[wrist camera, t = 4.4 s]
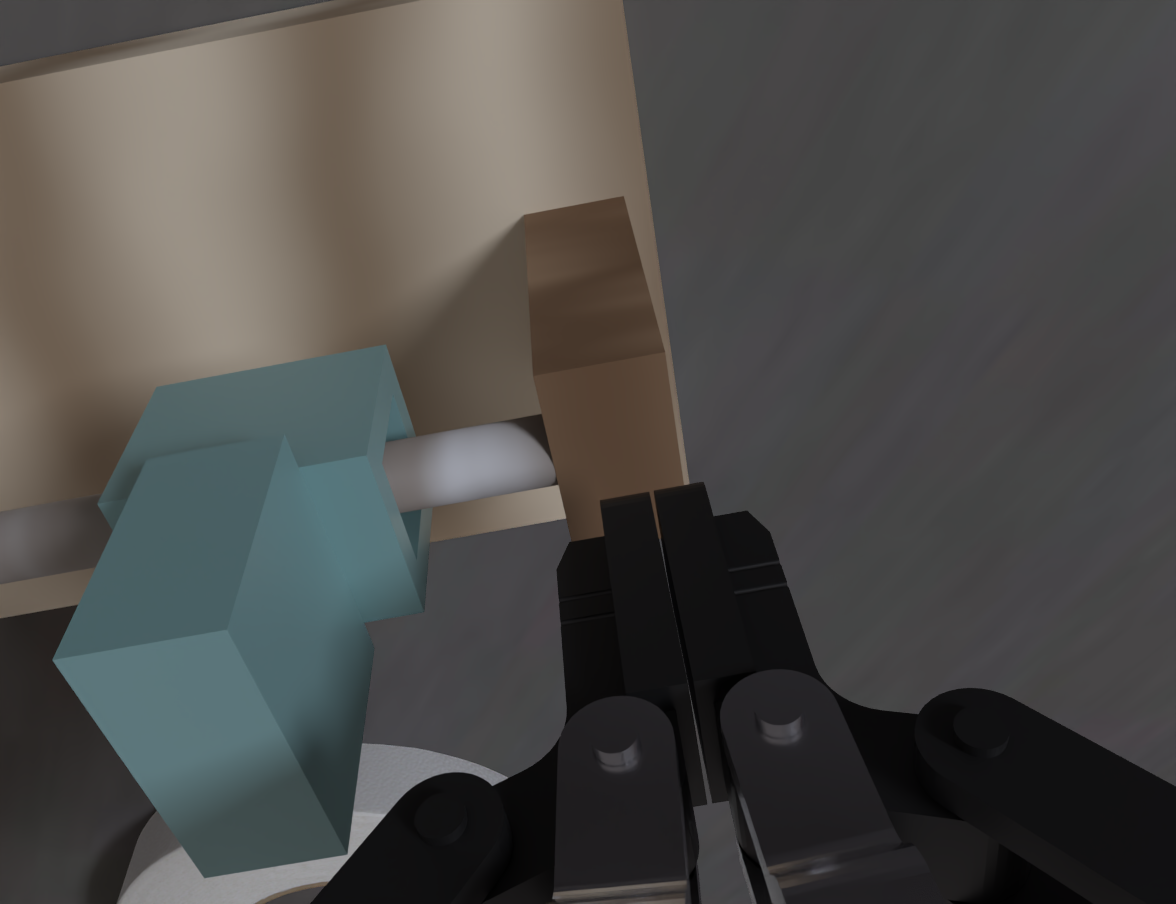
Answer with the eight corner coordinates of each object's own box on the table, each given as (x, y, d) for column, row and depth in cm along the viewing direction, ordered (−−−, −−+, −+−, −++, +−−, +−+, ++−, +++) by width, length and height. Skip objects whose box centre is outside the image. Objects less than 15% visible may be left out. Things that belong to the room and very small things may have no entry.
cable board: (609, -55, 19) (677, 85, 12) (681, 459, 26) (752, 742, 19) (-614, 187, 20) (-1237, 453, 13) (-224, 620, 27) (-483, 947, 20)
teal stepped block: (375, 313, 17) (314, 614, 11) (441, 515, 20) (419, 842, 14) (141, 356, 17) (-36, 674, 11) (237, 551, 20) (133, 889, 14)
